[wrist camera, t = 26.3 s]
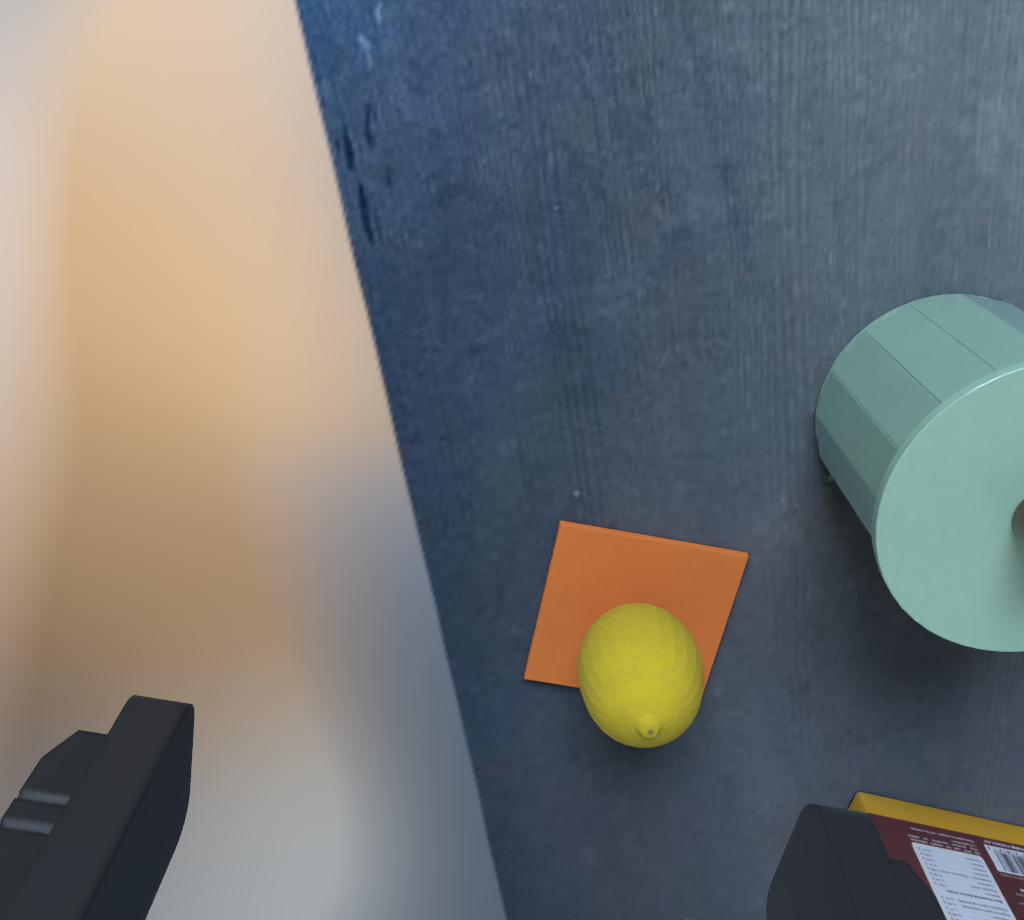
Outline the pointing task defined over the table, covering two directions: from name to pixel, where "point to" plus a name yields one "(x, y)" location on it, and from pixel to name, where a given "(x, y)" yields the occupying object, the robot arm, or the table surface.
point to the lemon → (640, 675)
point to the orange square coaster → (628, 592)
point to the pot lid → (960, 516)
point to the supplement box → (954, 856)
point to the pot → (906, 382)
